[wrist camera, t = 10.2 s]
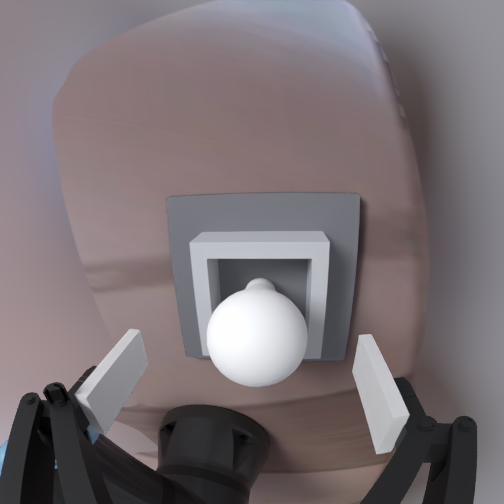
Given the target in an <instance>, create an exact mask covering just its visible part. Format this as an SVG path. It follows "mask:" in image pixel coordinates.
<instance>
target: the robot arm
mask: <svg viewBox="0 0 504 504" xmlns="http://www.w3.org/2000/svg"><path fill="white" fill-rule="evenodd" d="M148 365H149V363H148V359H147V356H146V352H145V348H144V344H143V340H142V336H141V331H140V330H136V329H129V330H128V332H127V333H126V334H125V335H124V336H123V337H122V338H121V340H120V341H119V342H118V343H117V344H116V345H115V346H114V348H113V349H112V350H111V351H110V352H109V353H108V355H107V356H106V357H105V358H104V359H103V360H102V362H101V363H100V364H99V365H98V366H92V367H91V368H89V369H88V370H86V372H85V373H84V374H83V375H82V376H81V377H80V378H79V381H77V382H76V383H75V384H74V386H73V387H72V388H71V389H70V390H69V391H68V393H67V391H66V389H65V387H64V385H63V384H62V383H58V382H55V383H52V384H49V385H47V386H46V387H45V389H44V391H43V393H44V395H45V397H46V399H47V400H41V399H40V397H39V395H38V394H37V393H33V392H31V393H27V394H25V395H24V396H23V397H22V399H21V400H20V403H19V406H18V409H17V412H16V415H15V419H14V422H13V425H12V429H11V432H10V436H9V439H8V440H6V441H5V442H4V443H3V444H2V445H1V446H0V504H248V502H249V495H250V490H251V487H252V486H253V484H254V482H255V480H256V479H257V477H258V475H259V473H260V472H261V470H262V468H263V466H264V464H265V462H266V461H267V458H268V452H269V438H268V436H267V434H266V432H265V431H264V430H263V429H262V427H260V426H259V425H258V424H257V423H256V422H254V421H253V420H251V419H249V418H248V417H246V416H244V415H241V414H239V413H237V412H234V411H231V410H228V409H224V408H220V407H215V406H209V405H186V406H181V407H177V408H175V409H173V410H171V411H169V412H168V413H167V414H166V415H165V417H164V419H163V421H162V423H161V426H160V428H159V432H158V468H157V470H156V471H154V470H153V469H151V468H150V467H148V466H146V465H145V464H143V463H142V462H140V461H139V460H137V459H136V458H134V457H133V456H131V455H130V454H128V453H127V452H126V451H124V450H123V449H121V448H120V447H119V446H117V445H116V444H114V443H113V442H112V441H111V440H109V439H108V438H106V437H105V436H104V435H106V433H107V431H108V430H109V428H110V427H111V425H112V423H113V422H114V420H115V418H116V417H117V415H118V414H119V412H120V410H121V409H122V407H123V405H124V404H125V402H126V401H127V399H128V397H129V396H130V394H131V392H132V391H133V389H134V388H135V386H136V384H137V383H138V381H139V380H140V378H141V377H142V375H143V373H144V372H145V370H146V369H147V367H148ZM352 372H353V375H354V379H355V382H356V385H357V388H358V392H359V395H360V398H361V401H362V405H363V408H364V412H365V415H366V419H367V422H368V426H369V429H370V433H371V436H372V440H373V444H374V448H375V451H376V454H381V453H386V452H391V451H392V449H393V447H394V445H395V446H396V452H395V454H394V455H393V457H392V459H391V460H390V462H389V463H388V465H387V466H386V468H385V469H384V471H383V472H382V474H381V475H380V477H379V478H378V480H377V481H376V483H375V484H374V485H373V487H372V488H371V490H370V491H369V492H368V494H367V495H366V496H365V498H364V499H363V500H362V501H361V503H360V504H400V503H401V501H402V499H403V498H404V496H405V494H406V493H407V491H408V489H409V487H410V486H411V484H412V482H413V480H414V478H415V477H416V475H417V473H418V471H419V469H420V467H421V465H422V463H423V462H424V463H431V466H430V471H429V477H428V482H427V486H426V491H425V495H424V499H423V503H422V504H473V500H474V493H475V482H476V468H477V425H476V422H475V421H474V420H473V419H472V418H470V417H467V416H460V417H458V418H457V419H456V420H455V421H454V422H453V424H441V423H437V421H436V420H435V419H434V418H432V417H430V416H426V414H425V412H424V410H423V408H422V406H421V404H420V402H419V400H418V398H417V396H416V394H415V392H414V391H413V388H412V386H411V384H410V383H409V382H408V381H407V380H406V379H405V378H403V377H401V378H394V379H393V377H392V375H391V373H390V371H389V369H388V367H387V365H386V363H385V361H384V358H383V356H382V354H381V352H380V350H379V348H378V346H377V344H376V342H375V340H374V339H373V337H372V335H371V334H366V335H359V338H358V344H357V350H356V355H355V360H354V365H353V370H352ZM103 434H104V435H103Z"/></svg>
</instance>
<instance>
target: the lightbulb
mask: <svg viewBox="0 0 504 504" xmlns="http://www.w3.org/2000/svg"><path fill="white" fill-rule="evenodd" d="M307 341H308V332H307V326H306V323H305V320H304V317H303V315H302V314H301V312H300V310H299V309H298V308H297V307H296V305H295V304H294V303H293V302H292V301H291V300H290V299H288V298H287V297H285V296H284V295H282V294H280V293H278V292H276V290H275V287H274V285H273V283H272V282H271V281H269V280H267V279H264V278H256V279H254V280H252V281H251V282H249V284H248V285H247V287H246V289H245V290H242V291H239V292H236V293H234V294H232V295H231V296H229V297H228V298H226V299H225V300H224V301H223V302H222V303H221V304H219V306H218V307H217V308H216V309H215V311H214V312H213V314H212V316H211V318H210V321H209V323H208V328H207V347H208V351H209V354H210V357H211V359H212V361H213V363H214V365H215V366H216V367H217V368H218V369H219V371H220V372H221V373H222V374H223V375H225V376H226V377H227V378H229V379H230V380H232V381H234V382H236V383H239V384H241V385H245V386H249V387H264V386H269V385H273V384H276V383H278V382H280V381H282V380H284V379H285V378H287V377H288V376H289V375H291V374H292V373H293V372H294V371H295V370H296V369H297V367H298V366H299V365H300V363H301V361H302V359H303V357H304V355H305V352H306V348H307Z"/></svg>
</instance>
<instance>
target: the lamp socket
mask: <svg viewBox="0 0 504 504" xmlns="http://www.w3.org/2000/svg"><path fill="white" fill-rule="evenodd" d="M166 208H167V220H168V231H169V241H170V251H171V260H172V268H173V276H174V284H175V291H176V298H177V305H178V311H179V318H180V324H181V330H182V336H183V342H184V347H185V353H186V357H196V358H207V359H211V357H210V354H209V351H208V347H207V328H208V323H209V321H210V318H211V316H212V314H213V312H214V311H215V309H216V308H217V307H218V306H219V304H221V303H222V302H223V301H224V300H225V299H226V298H228V297H229V296H231V295H232V294H234V293H236V292H239V291H242V290H245V289H246V287H247V285H248V284H249V282H251V281H252V280H254V279H256V278H264V279H267V280H269V281H271V282H272V283H273V285H274V287H275V290H276V292H278V293H280V294H282V295H284V296H285V297H287V298H288V299H290V300H291V301H292V302H293V303H294V304H295V305H296V307H297V308H298V309H299V310H300V312H301V314H302V315H303V317H304V320H305V323H306V326H307V332H308V341H307V348H306V352H305V355H304V357H303V359H302V361H301V362H315V361H341V360H344V358H345V352H346V346H347V340H348V334H349V327H350V320H351V312H352V304H353V295H354V286H355V276H356V265H357V252H358V237H359V216H360V194H358V193H335V192H255V193H222V194H200V195H182V196H170V197H166Z"/></svg>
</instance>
